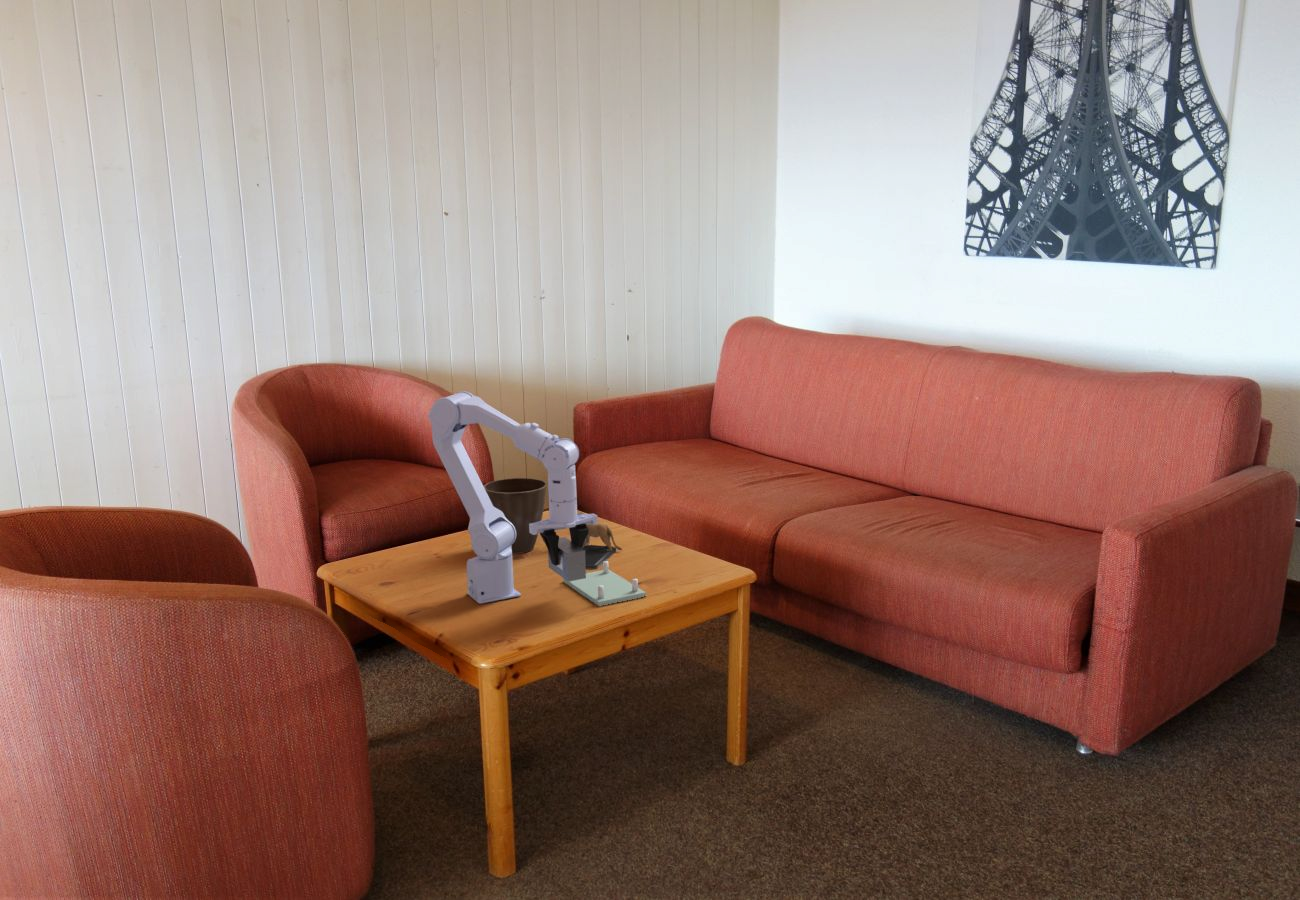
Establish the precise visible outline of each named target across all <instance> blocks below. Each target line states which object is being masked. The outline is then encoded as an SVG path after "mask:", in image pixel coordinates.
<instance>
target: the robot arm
mask: <svg viewBox="0 0 1300 900" xmlns="http://www.w3.org/2000/svg"><path fill="white" fill-rule="evenodd" d="M427 417H428V419H429V421H430V424H431V434H432V436H431V437H432V443H433V447H434V448H435V450H436V453H437V454H438V456H439V458H440V460H441V463H442V464H443V466H444V468H445V470H446V472H447V474H448V477H449V478H450V480H451V483H452V485H453V487H454V489H455V490H456V493H457V494H458V496H459V499H460V500H461V503H462V505H463V507H464V509H465V511H466V513H467V515H468V516H469V523H468V527H467V531H468V533H469V536H470V539H471V542H470V543H471V548H472V550H473V552H474V554H476V556H475V557H473V558H469V559H467V561H466V582H467V583H466V584H467V591H466V594H467V595H469V597H471V598H472V599H473V600H474V601H475V602H476V603H478V604H479V605H481V604H487V603H491V602H496V601H500V600H506V599H507V600H508V599H511V598H517V597H521V595H522V594H521V593H520V592H519V591H518V590H517V589H515V585H514V584H515V583H514V564H513V553H512V544H513V543H514V542H515V540H516V529H515V527H514V525H513V524H512V523H511V522H510V521H508V520H507V519H506V517H505V516H504V514H503V512H502V511H500V510H499V509H497V508H495V507H494V506H493V505H492V503H491V501H490V498H489V496H488V494H487V492H486V490H485V488H484V486H485V485H483V482H482V480H481V479H480V476H479V475H478V472H477V471H476V468H475V467H474V464H473V462H472V460H471V458H470V457H469V454H468V453H467V451H466V449H465V446H464V444H463V442H462V438H463V436H464V433H465V431H466V428H467V426H468V425H473V424H480V425H482V426H484V427H487V428H489V429H490V430H492V431H495V432H497V433H499V434H502V435H504V436H506V437H507V438H510V439H512V442H513V445H514V447H515V448H517V449H519V450H520V451H521V452H524V453H526V454H528V455H529V456H532V457H534V458H535V459H537V460H539V461H540V462H541V463H542V465H543V466H544V468H545V470H546V471H547V486H548V487H547V488H548V508H549V509H548V510H549V511H548V513H549V518H545V519H542V521H539V522H536V523H531V524H529V533H531V534H532V535H536V534H538V535H540V537H541V538H542V540H543V543H544V544H545V547H546V549H547V553H548V552H549V555H550V558H551V563H552V564H553V565H555V566H556V565H558V542H559V538H560V536H559V534H557V532H556V531H559V530H565V529H566V530H567V529H569V530H568V531H569V534H570V541H572V542H573V543H575V544H576V545H578V546H579V547H581V548H582V546H583V543H584V541H585V539H586V537H587V535H588V533H589V528H587V527H586V525H590V524H592V525H596V524H598V523H599V522H598V515H597V514H595V513H588V514H587V513H586V514H585V513H584V514H583V515H577V511H578V501H577V500H578V499H577V497H578V495H577V477H576V474H577V473H576V465H575V464H576V463H577V462H578V460H579V457H580V450H579V447H578V445H577V444H576V443H575V441H572V439H570V438H567V437H565V438H563V437H562V438H560V437H559V435H557V434H551V433H549V432H547V431H546V430H543V429H541V428H540V425H539V424H538V423H536V422H532V423H530V422H525V423H522V424H520V423H519V422H517V421H515V420H514V419H512V418H511V417H509V416H507V415H505V414H504V413H502V411H501V412H500V411H499V410H498V409H496V408H494V407H493V406H491V405H490V404H488V403H486V402H485V401H484V400H483V399H482V398H481V397H480V396H477V395H473V393H470V392H469V391H465V390H461V391H458V392H456V393H454V394H452V395H449V396H445V397H441V398H437V399H436V400H435V401H434V402H433V404H432V405H431V408H430V411H429V412H428V415H427ZM582 549H583V548H582Z"/></svg>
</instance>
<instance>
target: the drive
mask: <svg viewBox="0 0 1300 900" xmlns="http://www.w3.org/2000/svg"><path fill="white" fill-rule="evenodd" d="M547 554H548V556H547V557H548V568H549V569H551V570H552V571H553V572H555V573H556V574H557V575H559V576H560V577H561V578H562V579H563V578H564V579H565V580H566V581H568V582H569V581H574V580H579V579H585V578H586V573H587V571H586V570H587V569H586V564H585V550H584V549H583V548H581V547H579V546H578V545H576V544H575V543H573V542H572V541H571V539H569V538H568V537H566V536H564V537H559V542H558V565H556V566H555V565H553V564H552V563H551V558H550V555H549V552H548V551H547Z"/></svg>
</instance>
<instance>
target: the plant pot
mask: <svg viewBox="0 0 1300 900" xmlns="http://www.w3.org/2000/svg"><path fill="white" fill-rule="evenodd" d="M483 486H484V488H485V490H486V492H487V494H488V496H489V498H490V501H491V503H492V505H493V506H494V507H495V508H497V509H499V510H500V511H502V512H503V514H504V516H505V517H506V519H507V520H508V521H510V522H511V523H512V524H513V525H514V527H515V529H516V540H515V542H514V543H513V544H512V554H522V553H524V554H525V553H527V552H531V551H533V550H534V549H535V545H536V542H537V540H538V537H539V533H538V534H536V535H532V534H531V533H529V524H531V523H536V522H539V521H542V520H543V516H544V515H543V514H544V510H545V509H544V508H545V501H546V494H547V493H546V492H547V482H546V481H544V480H542V479H538V478H529V477H516V478H515V477H512V478H502V479H496V480H494V481H490V482H488V483H486V484H484V485H483Z"/></svg>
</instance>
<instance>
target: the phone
mask: <svg viewBox="0 0 1300 900" xmlns="http://www.w3.org/2000/svg"><path fill="white" fill-rule="evenodd" d="M582 549H584V550H585V564H586V570H597V569H598V568H600V567H601V566H603V562H604V561H608V559H609V558H611V557H612V556H613V555H614V554H615V553H616V552H617V548H616V547H615V546H612V551H607V550H609V548H608V547H607V546H606V545H597V544H589V545H586V546H585V547H584V548H582Z"/></svg>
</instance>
